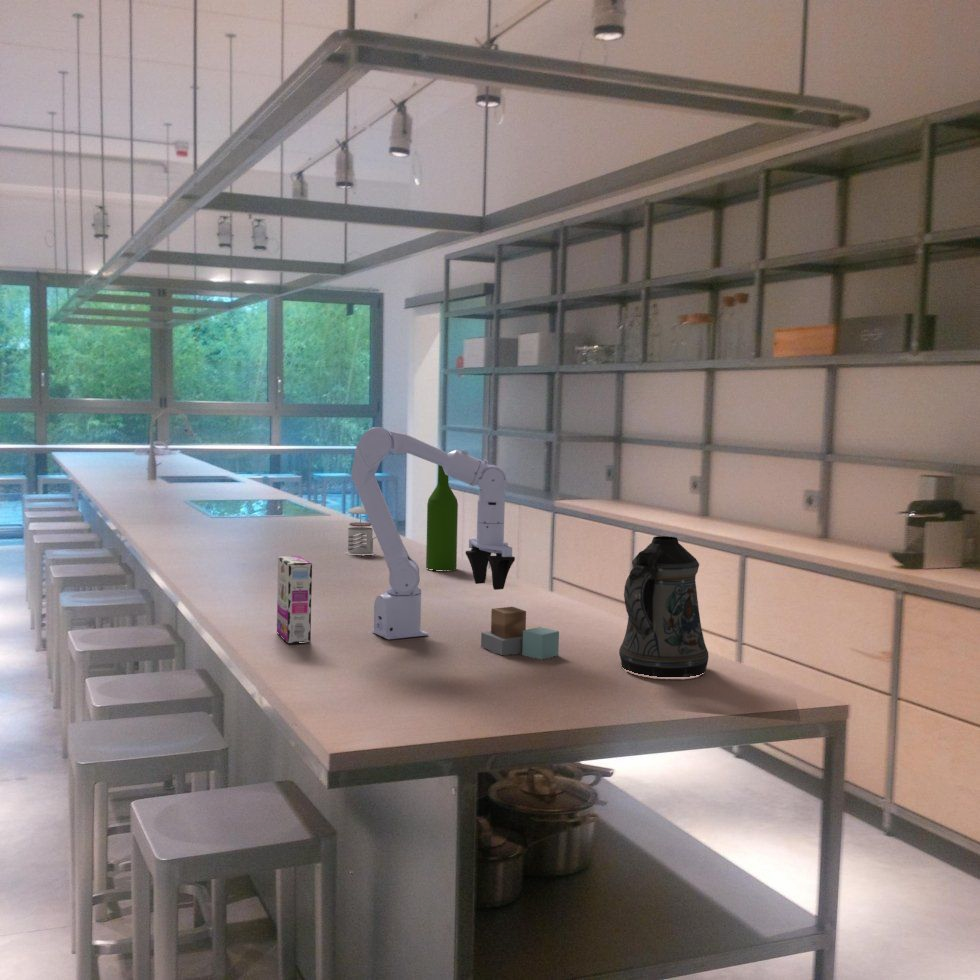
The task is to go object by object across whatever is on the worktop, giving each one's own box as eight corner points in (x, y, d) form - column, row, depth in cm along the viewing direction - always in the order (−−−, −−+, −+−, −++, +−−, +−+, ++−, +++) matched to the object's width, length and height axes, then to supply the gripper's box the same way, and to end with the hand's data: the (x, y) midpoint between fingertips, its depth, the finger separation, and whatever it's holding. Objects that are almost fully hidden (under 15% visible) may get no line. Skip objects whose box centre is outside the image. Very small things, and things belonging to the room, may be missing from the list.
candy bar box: (312, 643, 209) (313, 562, 208) (287, 645, 207) (288, 563, 206) (299, 631, 219) (300, 554, 218) (276, 633, 217) (276, 555, 216)
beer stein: (708, 662, 201) (714, 534, 199) (706, 688, 183) (712, 547, 180) (623, 655, 205) (627, 530, 203) (612, 680, 186) (617, 542, 184)
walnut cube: (504, 638, 204) (504, 613, 204) (490, 633, 209) (491, 608, 208) (525, 635, 207) (526, 611, 206) (512, 630, 211) (512, 606, 211)
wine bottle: (462, 570, 304) (464, 459, 302) (436, 572, 299) (438, 459, 297) (446, 565, 312) (448, 457, 309) (420, 568, 307) (422, 457, 304)
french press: (349, 551, 337) (350, 474, 335) (384, 552, 336) (385, 475, 333) (340, 555, 327) (341, 476, 325) (376, 557, 326) (378, 477, 324)
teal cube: (541, 660, 200) (542, 634, 200) (522, 655, 204) (523, 630, 203) (558, 656, 204) (559, 631, 203) (539, 651, 207) (539, 627, 207)
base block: (501, 655, 203) (502, 640, 202) (481, 646, 209) (481, 632, 209) (536, 651, 207) (536, 636, 207) (514, 643, 214) (514, 628, 213)
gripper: (525, 525, 215) (523, 590, 216) (489, 518, 227) (487, 579, 228) (496, 526, 211) (494, 593, 212) (461, 519, 223) (459, 581, 224)
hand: (489, 586), depth 220 cm, fingers open, 7 cm apart
